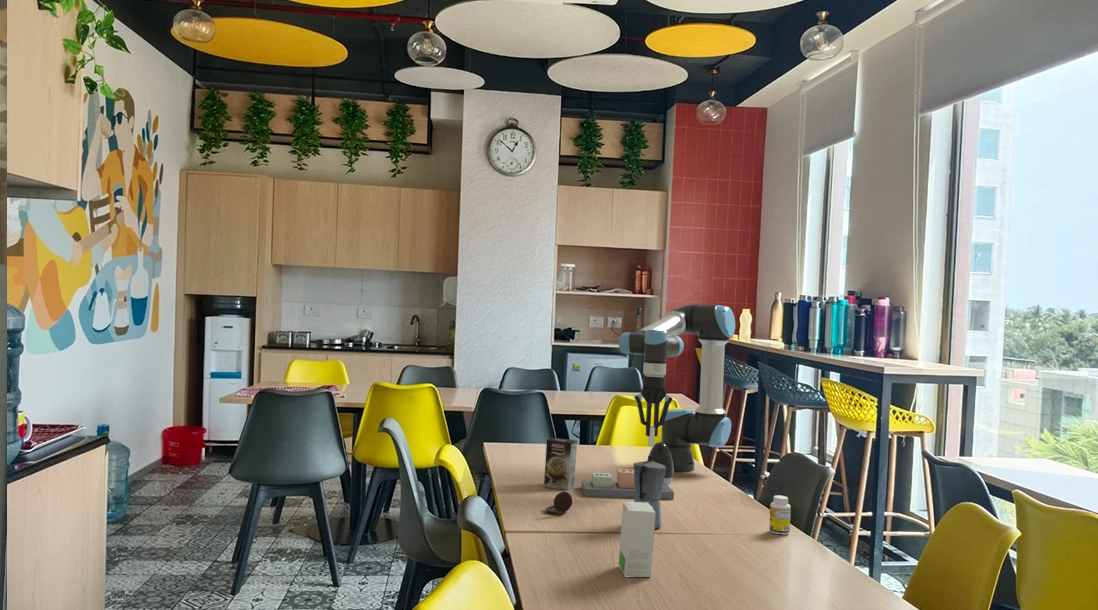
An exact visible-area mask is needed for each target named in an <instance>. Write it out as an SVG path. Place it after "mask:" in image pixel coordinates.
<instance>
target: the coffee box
mask: <svg viewBox="0 0 1098 610" xmlns="http://www.w3.org/2000/svg"><path fill="white" fill-rule="evenodd" d="M577 446H578V441H577V440H575V439H567V438H566V439H565V438H559V437H551V438H548V439H546V445H545V447H546V449H545V465H544V482H543V487H545V488H549V489H550V488H551V489H558V490H562V489H564V490H563V491H570V490H572V489H573V487H574V488H575V481H576V480H575V479H576V465H577V464H576V462H577V448H578V447H577ZM571 488H572V489H571ZM569 489H570V490H569Z"/></svg>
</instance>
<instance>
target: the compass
mask: <svg viewBox="0 0 1098 610" xmlns="http://www.w3.org/2000/svg"><path fill="white" fill-rule="evenodd" d="M572 505H573V497H572V495H571V493H570V492H567V491H566V490H562V491H561V492H559V493H557V494H556V496H555V497H554V499H553V505H550V506H547V507H546V508H545V509H541V510H540V512H543V513H546V514H548V513H549V515H552V514H562V515H565V514H566V512H567V511H569V509H570V508H571V507H572ZM564 513H565V514H564Z"/></svg>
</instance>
